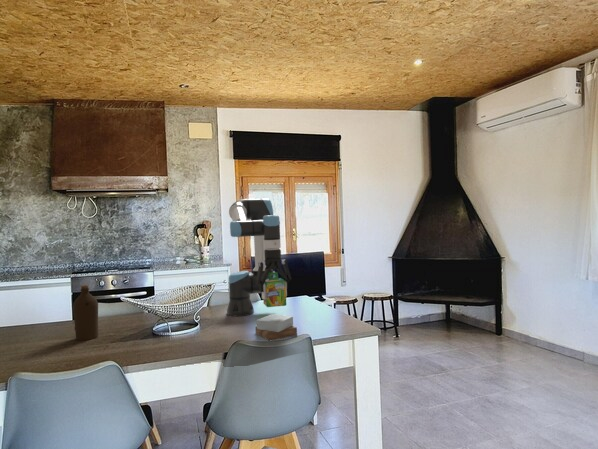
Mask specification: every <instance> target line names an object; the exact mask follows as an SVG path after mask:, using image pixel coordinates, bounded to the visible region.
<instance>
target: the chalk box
mask: <svg viewBox="0 0 598 449" xmlns="http://www.w3.org/2000/svg"><path fill="white" fill-rule="evenodd" d="M271 275H275V276H276V277H275V278H272V277H271ZM268 277H269V279H266V280H265V283H264V285H265V286H266V300H264V299H262V300H263V305H264V306H265V307H266V308H273V307H285V306H287V296H286V281H285V280H284V279H282V277H279V272H278V271H274V272H271V273H269V274H268Z"/></svg>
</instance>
